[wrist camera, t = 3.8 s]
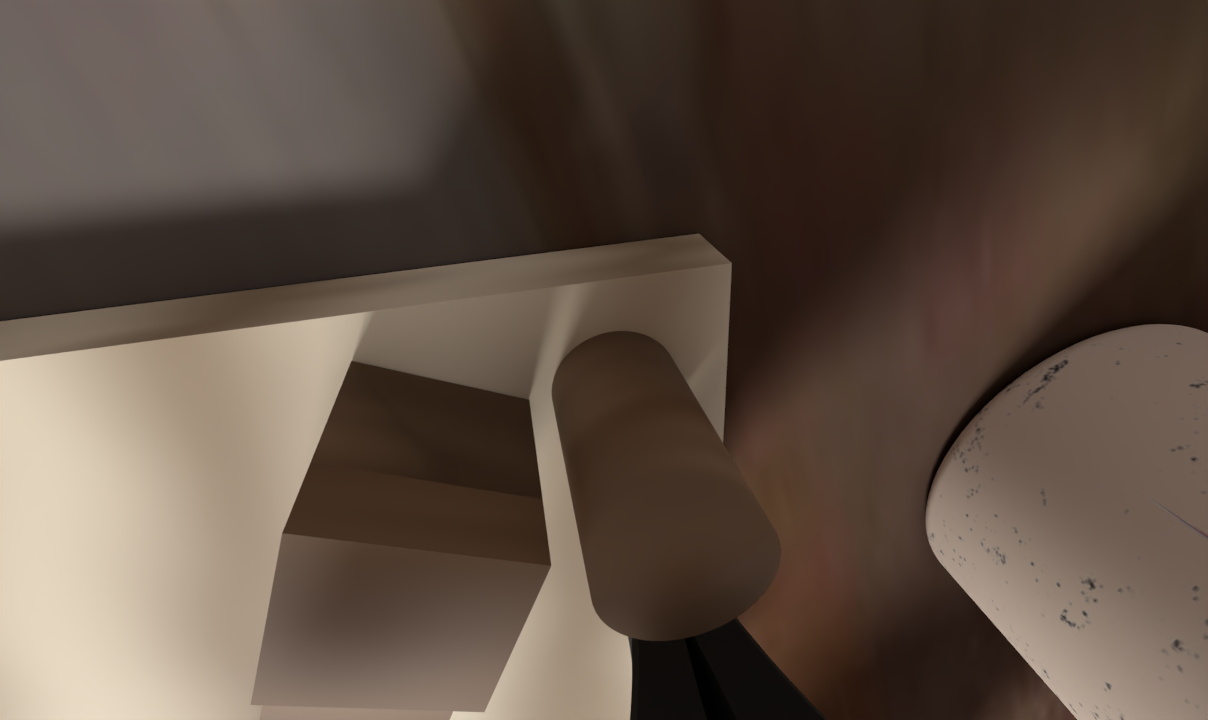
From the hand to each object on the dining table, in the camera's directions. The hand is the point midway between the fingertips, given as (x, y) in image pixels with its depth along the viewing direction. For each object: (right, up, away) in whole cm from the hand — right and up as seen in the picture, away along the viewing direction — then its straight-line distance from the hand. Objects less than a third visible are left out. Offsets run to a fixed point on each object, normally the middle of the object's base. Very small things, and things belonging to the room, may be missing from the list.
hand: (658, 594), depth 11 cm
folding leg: (-6, -1, 0) cm, 6 cm away
